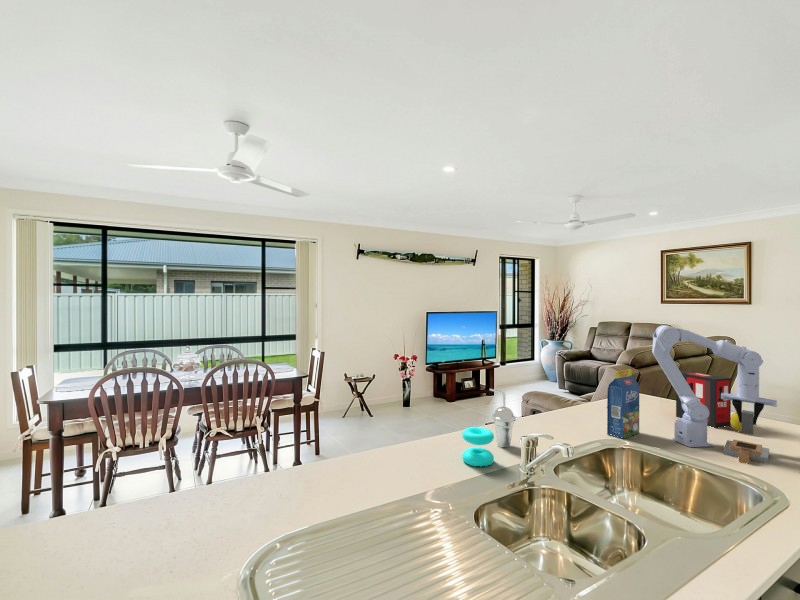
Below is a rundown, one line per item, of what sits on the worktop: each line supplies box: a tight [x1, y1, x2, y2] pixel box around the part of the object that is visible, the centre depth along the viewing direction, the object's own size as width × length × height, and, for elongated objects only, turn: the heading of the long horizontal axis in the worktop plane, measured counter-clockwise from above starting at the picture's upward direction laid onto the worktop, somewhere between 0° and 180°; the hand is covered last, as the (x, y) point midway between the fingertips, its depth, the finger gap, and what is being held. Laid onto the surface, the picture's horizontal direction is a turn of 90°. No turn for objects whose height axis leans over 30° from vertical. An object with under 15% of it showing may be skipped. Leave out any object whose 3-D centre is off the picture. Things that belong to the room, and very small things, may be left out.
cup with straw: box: [489, 388, 517, 448], centre depth 140 cm, size 8×9×20 cm
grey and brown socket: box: [723, 439, 770, 465], centre depth 131 cm, size 16×11×3 cm
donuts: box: [461, 426, 495, 468], centre depth 126 cm, size 10×10×10 cm
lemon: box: [730, 412, 742, 433], centre depth 155 cm, size 6×6×8 cm
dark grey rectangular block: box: [741, 409, 755, 435], centre depth 137 cm, size 4×3×7 cm
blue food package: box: [606, 368, 640, 439], centre depth 152 cm, size 6×12×25 cm, turn 123°
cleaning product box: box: [675, 370, 732, 429], centre depth 169 cm, size 16×9×20 cm, turn 17°
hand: (747, 423), depth 137 cm, fingers closed on dark grey rectangular block, 3 cm apart
